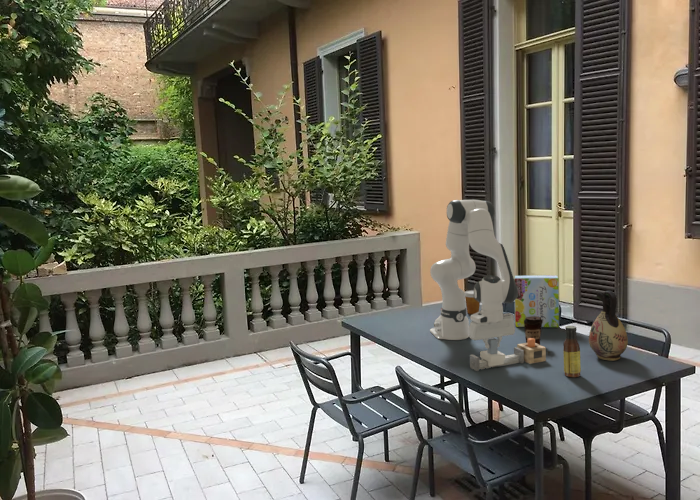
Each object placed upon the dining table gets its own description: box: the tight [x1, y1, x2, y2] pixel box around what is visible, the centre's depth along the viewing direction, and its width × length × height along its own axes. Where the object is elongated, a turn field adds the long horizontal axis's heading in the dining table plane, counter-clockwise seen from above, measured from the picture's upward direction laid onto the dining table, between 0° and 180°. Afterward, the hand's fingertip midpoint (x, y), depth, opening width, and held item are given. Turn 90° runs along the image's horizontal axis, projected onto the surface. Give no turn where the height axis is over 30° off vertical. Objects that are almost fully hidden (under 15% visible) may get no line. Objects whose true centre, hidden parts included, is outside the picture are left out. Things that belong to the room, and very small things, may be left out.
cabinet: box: [516, 342, 547, 365], centre depth 262 cm, size 9×8×6 cm
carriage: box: [479, 337, 506, 367], centre depth 256 cm, size 8×7×10 cm
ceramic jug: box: [588, 290, 629, 361], centre depth 258 cm, size 17×15×30 cm
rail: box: [469, 346, 525, 372], centre depth 257 cm, size 5×23×6 cm, turn 109°
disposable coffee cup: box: [464, 289, 481, 315], centre depth 342 cm, size 10×10×12 cm
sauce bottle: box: [562, 325, 582, 378], centre depth 240 cm, size 7×6×20 cm
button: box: [527, 338, 535, 348], centre depth 262 cm, size 3×3×5 cm
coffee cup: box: [524, 316, 543, 345], centre depth 281 cm, size 9×8×13 cm
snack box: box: [513, 274, 560, 328], centre depth 311 cm, size 22×9×26 cm, turn 76°
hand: (492, 347), depth 255 cm, fingers closed on carriage, 3 cm apart
